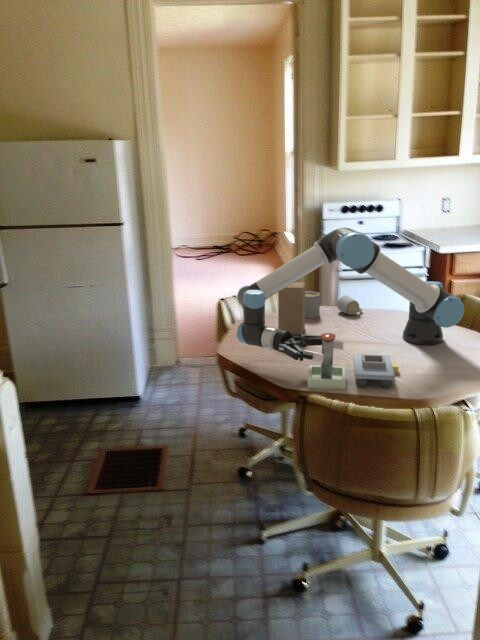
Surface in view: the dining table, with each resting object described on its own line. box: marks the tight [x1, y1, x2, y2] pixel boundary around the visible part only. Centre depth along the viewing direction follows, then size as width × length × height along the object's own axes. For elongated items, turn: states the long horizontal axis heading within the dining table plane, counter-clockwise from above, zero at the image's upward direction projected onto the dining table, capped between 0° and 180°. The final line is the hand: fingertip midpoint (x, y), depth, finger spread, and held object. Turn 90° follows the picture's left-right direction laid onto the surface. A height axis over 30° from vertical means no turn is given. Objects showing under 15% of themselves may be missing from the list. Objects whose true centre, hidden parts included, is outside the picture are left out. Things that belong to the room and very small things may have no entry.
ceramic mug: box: [336, 295, 363, 316], centre depth 259 cm, size 11×8×8 cm
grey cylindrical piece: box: [305, 290, 321, 319], centre depth 258 cm, size 13×10×10 cm
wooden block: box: [277, 281, 306, 336], centre depth 234 cm, size 10×10×20 cm
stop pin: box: [320, 332, 336, 379], centre depth 184 cm, size 5×5×15 cm
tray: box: [307, 364, 347, 391], centre depth 186 cm, size 12×12×3 cm
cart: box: [353, 353, 399, 389], centre depth 186 cm, size 15×18×7 cm
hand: (333, 351), depth 182 cm, fingers open, 13 cm apart
